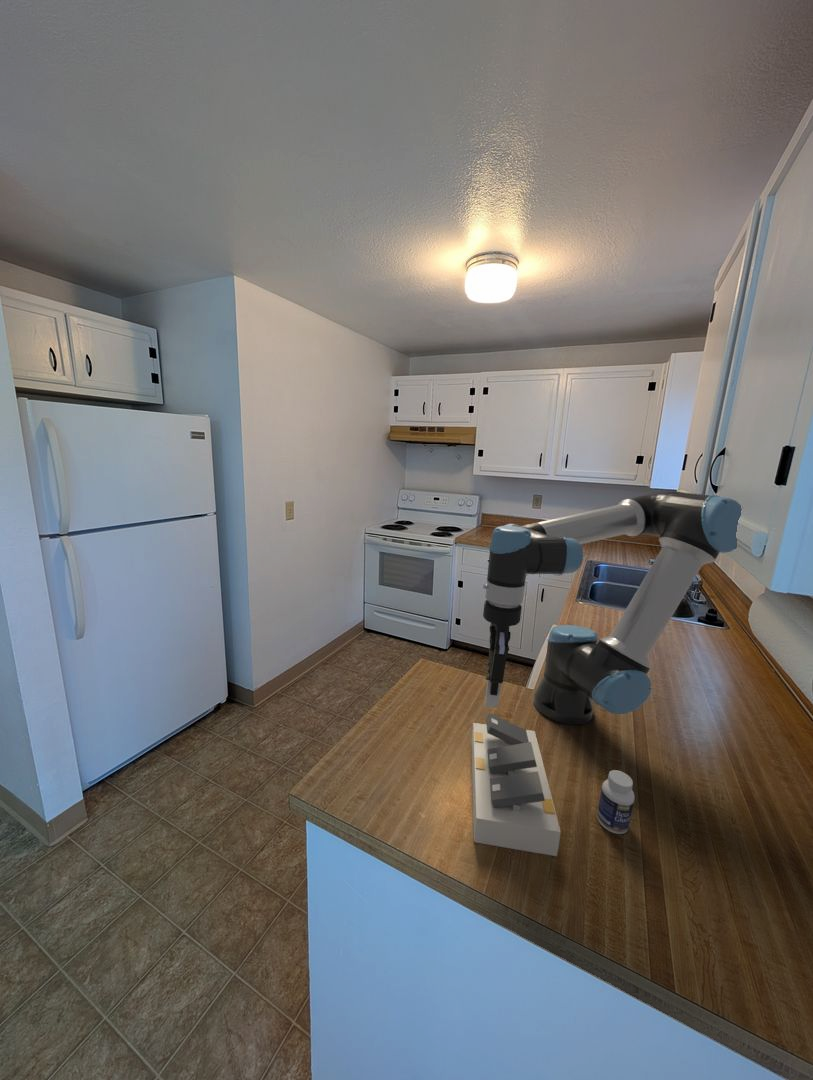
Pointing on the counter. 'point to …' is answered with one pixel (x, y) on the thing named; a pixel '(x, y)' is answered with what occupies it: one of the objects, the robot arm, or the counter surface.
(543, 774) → the switch unit
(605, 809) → the pill bottle
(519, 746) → the block
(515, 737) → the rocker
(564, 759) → the counter surface
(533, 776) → the block
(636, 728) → the counter surface
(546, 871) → the counter surface
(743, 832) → the counter surface
